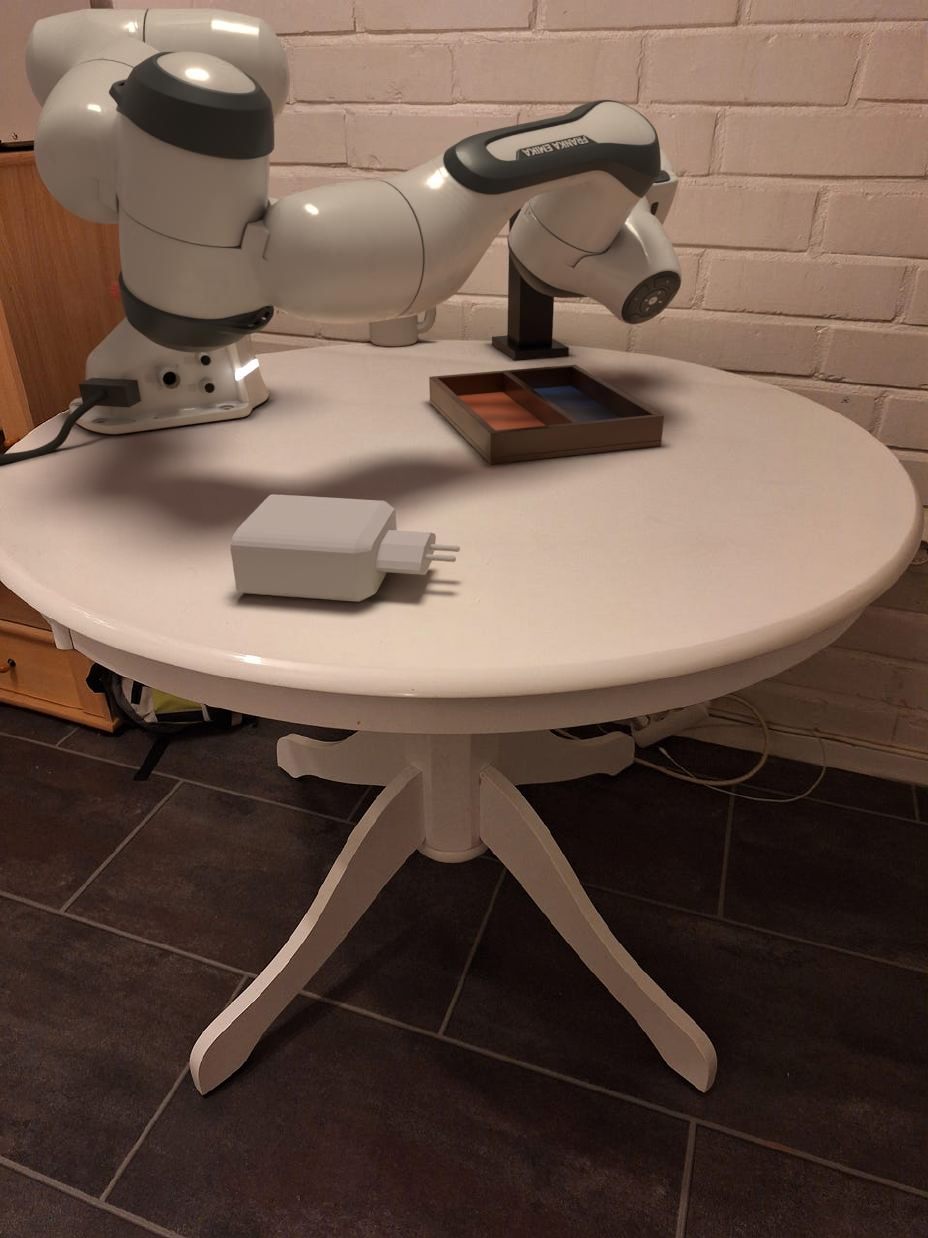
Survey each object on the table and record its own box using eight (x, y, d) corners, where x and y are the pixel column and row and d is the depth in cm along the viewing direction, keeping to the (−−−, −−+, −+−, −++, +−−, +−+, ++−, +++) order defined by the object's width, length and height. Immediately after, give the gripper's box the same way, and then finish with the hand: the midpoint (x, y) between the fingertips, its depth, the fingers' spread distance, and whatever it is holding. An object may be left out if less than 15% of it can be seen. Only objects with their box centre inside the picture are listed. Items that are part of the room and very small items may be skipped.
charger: (446, 615, 62) (236, 599, 64) (468, 557, 70) (281, 545, 72) (445, 551, 59) (228, 537, 62) (467, 499, 67) (274, 488, 70)
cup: (374, 335, 139) (371, 274, 135) (439, 336, 138) (438, 274, 134) (366, 346, 133) (362, 282, 128) (434, 347, 132) (432, 282, 128)
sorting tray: (661, 445, 93) (664, 415, 91) (490, 464, 88) (490, 433, 86) (574, 389, 112) (575, 364, 110) (429, 402, 107) (429, 376, 105)
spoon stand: (568, 355, 127) (579, 146, 114) (514, 360, 125) (519, 147, 112) (542, 341, 135) (549, 144, 123) (491, 344, 133) (493, 145, 121)
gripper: (510, 234, 102) (477, 161, 109) (673, 227, 107) (632, 158, 114) (521, 182, 97) (486, 109, 103) (692, 178, 102) (648, 108, 109)
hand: (564, 134), depth 109 cm, fingers open, 3 cm apart
